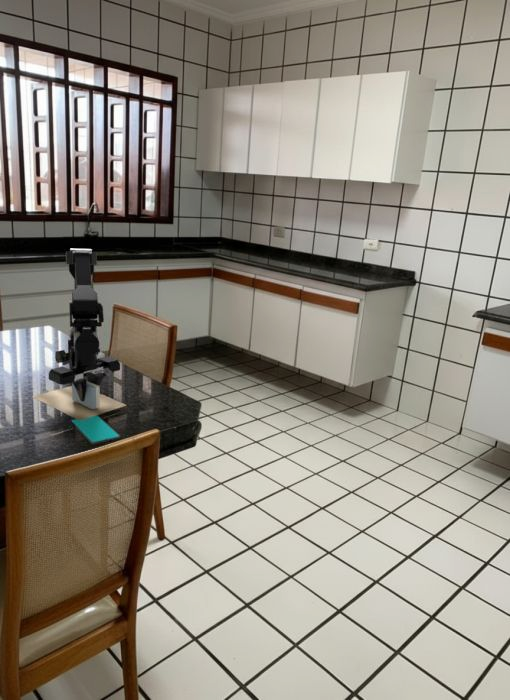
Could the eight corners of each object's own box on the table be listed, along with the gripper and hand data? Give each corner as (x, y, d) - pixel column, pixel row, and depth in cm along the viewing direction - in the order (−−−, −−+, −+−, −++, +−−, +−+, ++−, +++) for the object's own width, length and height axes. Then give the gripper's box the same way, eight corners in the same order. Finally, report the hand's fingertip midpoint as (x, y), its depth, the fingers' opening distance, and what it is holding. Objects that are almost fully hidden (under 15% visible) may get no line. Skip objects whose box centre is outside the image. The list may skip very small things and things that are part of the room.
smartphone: (96, 414, 140) (121, 436, 129) (96, 417, 140) (121, 439, 129) (68, 419, 136) (91, 443, 124) (68, 423, 136) (91, 446, 125)
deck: (79, 397, 148) (78, 377, 147) (99, 407, 143) (99, 386, 142) (72, 399, 147) (71, 379, 145) (92, 409, 142) (92, 388, 140)
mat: (78, 385, 160) (78, 384, 160) (126, 406, 147) (126, 405, 147) (31, 397, 148) (31, 396, 148) (79, 422, 136) (79, 420, 136)
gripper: (96, 332, 152) (96, 384, 156) (35, 343, 138) (37, 400, 142) (121, 341, 146) (121, 394, 150) (60, 353, 131) (62, 412, 136)
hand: (86, 399), depth 145 cm, fingers closed on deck, 2 cm apart
